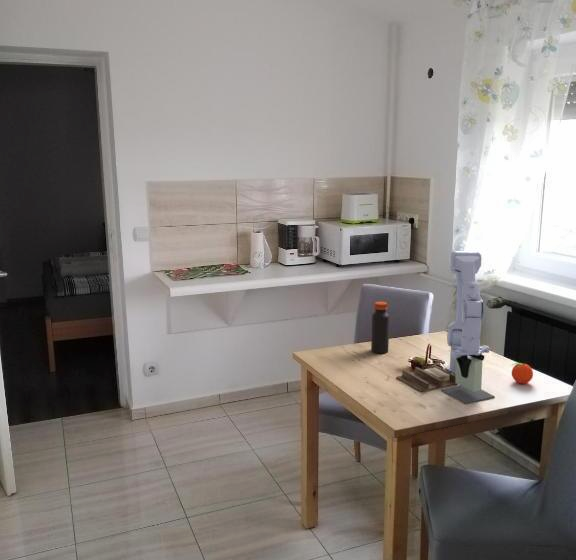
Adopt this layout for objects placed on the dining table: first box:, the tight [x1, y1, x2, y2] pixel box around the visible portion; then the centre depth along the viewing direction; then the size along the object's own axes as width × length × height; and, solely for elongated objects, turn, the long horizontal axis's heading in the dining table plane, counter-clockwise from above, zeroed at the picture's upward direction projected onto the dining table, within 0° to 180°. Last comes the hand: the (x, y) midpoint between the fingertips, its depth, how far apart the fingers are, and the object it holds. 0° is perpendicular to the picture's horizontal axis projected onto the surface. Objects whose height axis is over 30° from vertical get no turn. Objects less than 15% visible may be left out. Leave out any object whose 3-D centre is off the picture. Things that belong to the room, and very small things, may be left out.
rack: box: [396, 364, 458, 393], centre depth 209 cm, size 16×14×3 cm
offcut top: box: [423, 367, 450, 379], centre depth 210 cm, size 5×8×1 cm, turn 25°
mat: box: [440, 385, 496, 405], centre depth 197 cm, size 12×12×1 cm
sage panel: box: [455, 356, 483, 392], centre depth 196 cm, size 3×9×10 cm, turn 25°
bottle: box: [370, 301, 390, 355], centre depth 237 cm, size 7×7×20 cm
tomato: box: [508, 362, 534, 384], centre depth 206 cm, size 8×7×7 cm
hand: (468, 376), depth 196 cm, fingers closed on sage panel, 3 cm apart
